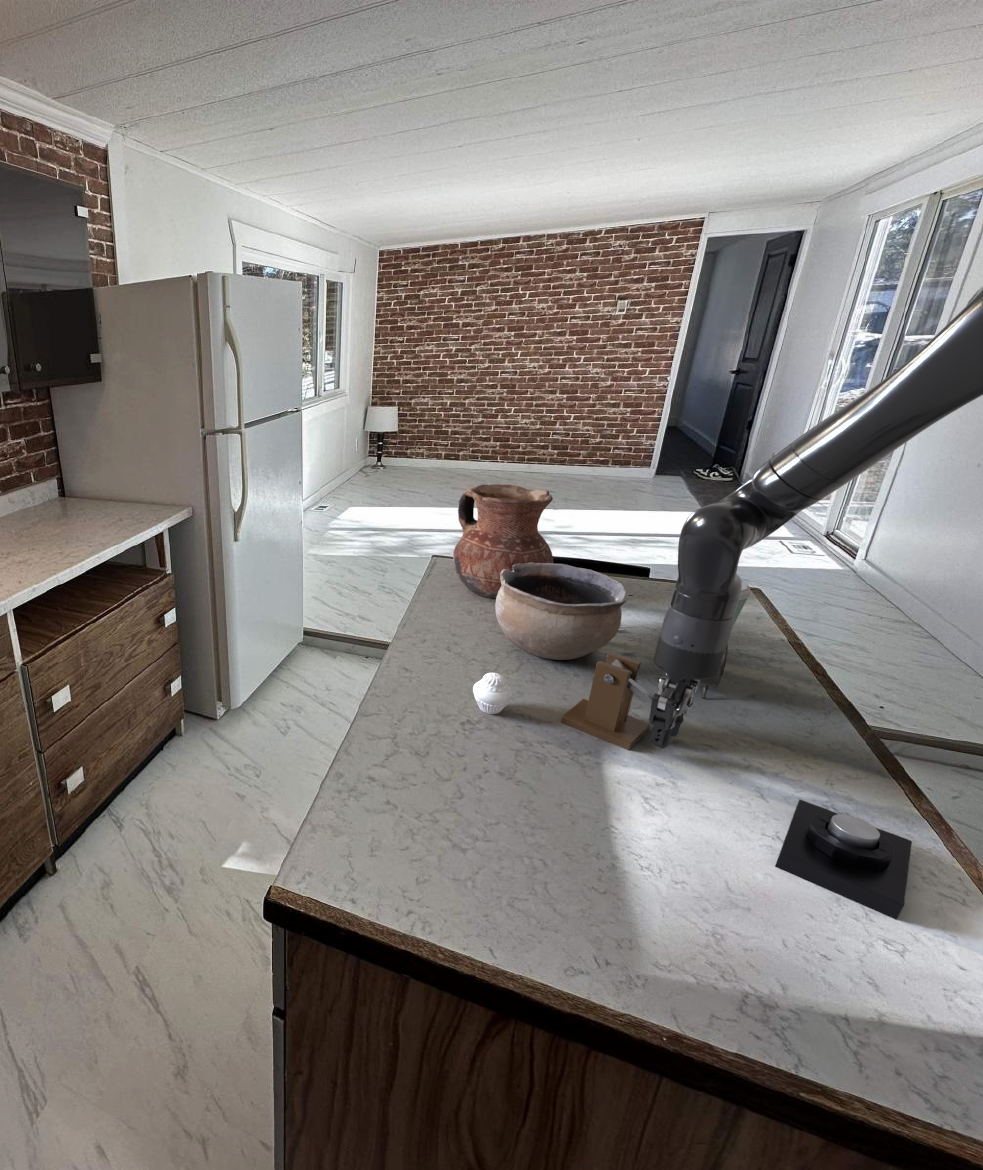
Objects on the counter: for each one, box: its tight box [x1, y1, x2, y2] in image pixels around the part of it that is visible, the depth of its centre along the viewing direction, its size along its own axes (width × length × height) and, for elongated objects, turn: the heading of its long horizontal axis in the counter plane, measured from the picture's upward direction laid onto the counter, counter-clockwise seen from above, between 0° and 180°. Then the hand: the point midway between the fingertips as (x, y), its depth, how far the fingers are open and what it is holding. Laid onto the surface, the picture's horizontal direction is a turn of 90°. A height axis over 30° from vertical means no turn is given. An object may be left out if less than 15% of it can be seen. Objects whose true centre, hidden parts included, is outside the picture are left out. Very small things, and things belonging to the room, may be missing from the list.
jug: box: [452, 483, 554, 599], centre depth 149 cm, size 22×21×25 cm
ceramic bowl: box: [494, 562, 630, 661], centre depth 122 cm, size 22×22×15 cm
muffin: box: [472, 672, 513, 715], centre depth 105 cm, size 6×6×7 cm
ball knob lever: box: [611, 659, 684, 728], centre depth 95 cm, size 12×3×3 cm, turn 39°
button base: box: [774, 799, 913, 920], centre depth 74 cm, size 13×10×4 cm
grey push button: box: [827, 813, 880, 850], centre depth 73 cm, size 4×4×2 cm
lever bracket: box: [560, 652, 651, 751], centre depth 98 cm, size 10×8×12 cm
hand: (663, 738), depth 94 cm, fingers open, 3 cm apart
